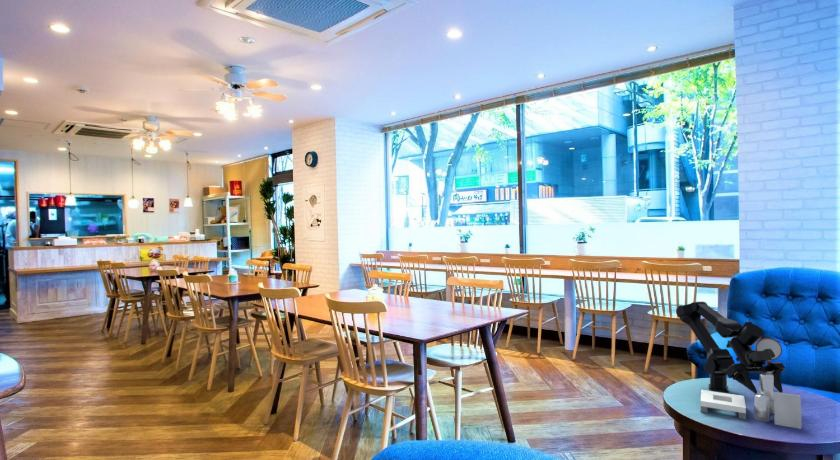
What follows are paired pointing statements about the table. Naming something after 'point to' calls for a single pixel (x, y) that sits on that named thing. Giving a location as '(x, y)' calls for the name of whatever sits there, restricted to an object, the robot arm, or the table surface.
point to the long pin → (767, 388)
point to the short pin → (761, 407)
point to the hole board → (723, 402)
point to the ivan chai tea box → (787, 410)
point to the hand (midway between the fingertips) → (769, 392)
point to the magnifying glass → (769, 347)
